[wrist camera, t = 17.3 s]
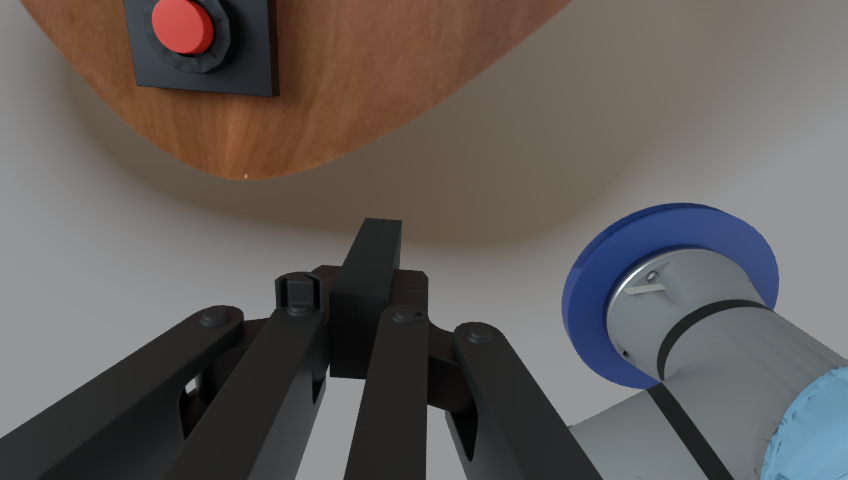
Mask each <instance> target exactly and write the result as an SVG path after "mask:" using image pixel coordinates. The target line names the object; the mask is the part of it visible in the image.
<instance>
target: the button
mask: <svg viewBox="0 0 848 480" xmlns="http://www.w3.org/2000/svg"><path fill="white" fill-rule="evenodd" d="M152 25H153V29H154V32H155V34H156V36H157V37H158V39H159V40H160V41H161V43H162V44H163V45H164V46H166V47H167V48H168V49H170V50H172V51H174V52H177V53H184V54H199V53H202V52H204V51H205V50H206V49H207V48H208V47H209V46H210V44H211V43H212V40H213V34H214V32H213V25H212V22H211V19H210V17H209V15H208V14H207V12H206V11H205V10H204V9H203V8H202V7H201V6H200V5H198V4H197V3H195V2H193V1H189V0H160V1H159V2H158V3H157V4H156V6H155V8H154V10H153V13H152Z"/></svg>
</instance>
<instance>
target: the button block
mask: <svg viewBox="0 0 848 480" xmlns="http://www.w3.org/2000/svg"><path fill="white" fill-rule="evenodd" d="M123 1H124V7H125V14H126V20H127V27H128V33H129V39H130V46H131V52H132V59H133V65H134V71H135V78H136V84H137V86H146V87H158V88H170V89H181V90H193V91H205V92H217V93H229V94H241V95H253V96H264V97H276V96H279V71H278V47H277V23H276V0H189V1H193V2H195V3H197V4H198V5H200V6H201V7H202V8H203V9H204V10H205V11H206V12H207V14H208V15H209V17H210V19H211V22H212V25H213V32H214V34H213V40H212V43H211V44H210V46H209V47H208V48H207V49H206V50H205V51H204V52H202V53H199V54H184V53H177V52H174V51H172V50H170V49H168V48H167V47H166V46H164V45H163V44H162V43H161V41H160V40H159V39H158V37H157V36H156V34H155V32H154V29H153V25H152V13H153V10H154V8H155V6H156V4H157V3H158V2H159V1H160V0H123Z"/></svg>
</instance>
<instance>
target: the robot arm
mask: <svg viewBox="0 0 848 480" xmlns="http://www.w3.org/2000/svg"><path fill="white" fill-rule="evenodd" d="M401 228H402V221H399V220H387V219H373V218H366V219H365V220H364V222H363V224H362V226H361V228H360V230H359V232H358V234H357V236H356V238H355V241H354V243H353V245H352V247H351V249H350V251H349V253H348V255H347V257H346V259H345V261H344V263H343V265H342V266H330V265H329V266H328V265H321V266H320V267H318V268H316V269H314V270H313V271H312V272H293V273H287V274H285V275H282V276H280V277H279V278H277V279H276V280H275V291H276V309H275V310H274V312H273V313H272V315H271V316H270V317H269V318H264V319H257V320H247V321H244V314H243V312H242V311H241V310H240V309H239V308H236V307H233V306H225V305H219V306H212V307H209V308H206V309H202V310H200V311H198V312H196V313H194V314H193V315H191V316H190V317H188V318H186V319H185V320H183V321H182V322H181V323H179V324H177V325H176V326H174V327H173V328H171V329H169V330H168V331H166V332H165V333H163V334H162V335H160V336H159V337H157V338H156V339H154V340H152V341H151V342H149V343H148V344H146V345H145V346H143V347H141V348H140V349H138V350H137V351H135V352H134V353H132V354H131V355H129V356H128V357H126V358H125V359H123V360H121V361H120V362H118V363H117V364H115V365H114V366H112V367H110V368H109V369H107V370H106V371H104V372H103V373H101V374H100V375H98V376H97V377H95V378H93V379H92V380H90V381H89V382H87V383H86V384H84V385H83V386H81V387H80V388H78V389H76V390H75V391H74V392H72V393H70V394H69V395H67V396H66V397H64V398H62V399H61V400H59V401H58V402H56V403H55V404H53V405H52V406H50V407H48V408H47V409H45V410H44V411H42V412H41V413H39V414H38V415H36V416H35V417H33V418H31V419H30V420H28V421H27V422H25V423H24V424H22V425H21V426H19V427H17V428H16V429H14V430H13V431H11V432H10V433H9V434H7V435H5V436H4V437H2V438H1V439H0V480H295V477H296V474H297V472H298V468H299V466H300V463H301V460H302V457H303V454H304V451H305V448H306V445H307V442H308V439H309V436H310V433H311V431H312V428H313V425H314V422H315V419H316V416H317V413H318V410H319V407H320V404H321V401H322V398H323V396H324V393H325V389H326V371H327V369H328V366H329V363H330V377H338V378H352V379H366V382H365V386H364V391H363V395H362V400H361V404H360V409H359V413H358V417H357V422H356V426H355V431H354V435H353V440H352V444H351V448H350V453H349V457H348V462H347V466H346V471H345V475H344V479H343V480H426V437H427V436H426V434H427V404H428V405H431V406H434V407H437V408H440V409H443V410H445V418H446V421H447V424H448V427H449V430H450V432H451V435H452V438H453V441H454V444H455V447H456V449H457V452H458V455H459V458H460V461H461V464H462V466H463V469H464V472H465V475H466V478H467V480H848V360H847V359H845V358H843V357H841V356H840V355H838V354H837V353H835V352H834V351H833V350H831V349H830V348H828V347H827V346H825V345H824V344H822V343H821V342H819V341H817V340H816V339H814V338H813V337H811V336H810V335H809V334H807V333H806V332H804V331H803V330H801V329H800V328H798V327H797V326H795V325H793V324H792V323H790V322H789V321H788V320H786V319H785V318H783V317H781V316H780V315H778V314H777V313H775V312H774V311H772V310H771V309H770V308H768V307H767V306H766V304H765V303H764V301H763V300H762V298H761V297H760V296H759V294H758V293H757V291H756V290H755V289H754V287H753V285H752V283H751V281H750V279H749V278H748V276H747V274H746V273H745V272H744V270H743V269H742V268H741V267H740V266H739V265H738V264H737V263H735V262H734V261H732V260H731V259H729V258H728V257H726V256H724V255H723V254H721V253H719V252H718V251H715V250H713V249H711V248H708V247H704V246H700V245H691V244H683V245H673V246H668V247H664V248H661V249H658V250H655V251H653V252H650V253H648V254H646V255H644V256H642V257H641V258H639V259H637V260H636V261H635V262H633V263H632V264H631V265H629V266H628V267H627V268H626V269H625V270H624V271H623V272H622V273H621V274H620V275H619V276H618V277H617V279H616V280H615V281H614V283H613V284H612V286H611V288H610V290H609V291H608V294H607V296H606V299H605V302H604V306H603V326H604V330H605V332H606V335H607V337H608V339H609V340H610V342H611V343H612V345H613V346H614V348H615V349H616V351H617V352H618V353H619V354H620V356H621V357H622V358H624V359H625V360H626V361H627V362H629V363H630V364H632V365H633V366H635V367H636V368H638V369H639V370H641V371H643V372H644V373H646V374H647V375H649V376H651V377H652V378H654V379H655V380H657V381H659V382H660V383H658V384H656V385H654V386H652V387H650V388H648V389H645V390H643V391H642V392H640V393H638V394H636V395H634V396H632V397H630V398H628V399H626V400H624V401H622V402H620V403H618V404H616V405H614V406H612V407H610V408H608V409H606V410H604V411H603V412H601V413H599V414H597V415H595V416H593V417H591V418H589V419H587V420H584V421H582V422H580V423H578V424H576V425H574V426H573V425H571V426H568V427H567V426H566V425H565V423H564V422H563V420H562V419H561V417H560V416H559V414H558V413H557V412H556V410H555V409H554V407H553V406H552V404H551V403H550V401H549V400H548V399H547V397H546V396H545V394H544V393H543V391H542V390H541V389H540V387H539V385H538V384H537V383H536V381H535V380H534V378H533V377H532V375H531V374H530V372H529V371H528V370H527V368H526V367H525V365H524V364H523V362H522V361H521V359H520V358H519V357H518V355H517V354H516V353H515V351H514V349H513V348H512V346H511V345H510V344H509V342H508V341H507V339H506V338H505V336H504V335H503V334H502V333H501V332H500V331H499V330H498V329H497V328H495V327H493V326H491V325H489V324H486V323H482V322H468V323H463V324H461V325H459V326H457V327H456V329H455V330H454V333H453V332H449V331H445V330H443V329H440V328H438V327H437V326H435V325H434V324H433V323H431V321H430V320H429V317H428V277H427V276H426V275H425V273H424V272H423V271H413V270H400V269H399V264H400V246H401ZM194 378H195V382H196V388H195V389H193V390H192V391H191V392H189V393H186V389H185V386H186V385H187V384H188V383H189V382H190V381H191V380H192V379H194Z"/></svg>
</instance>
